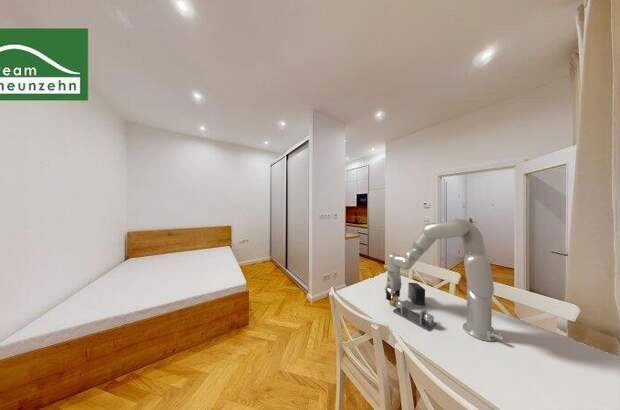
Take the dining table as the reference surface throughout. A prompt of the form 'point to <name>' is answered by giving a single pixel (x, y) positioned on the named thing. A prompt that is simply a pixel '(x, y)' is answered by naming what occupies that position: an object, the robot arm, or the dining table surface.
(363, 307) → the dining table surface
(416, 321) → the grey bar with knobs
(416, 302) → the small box
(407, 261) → the robot arm
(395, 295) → the valve
